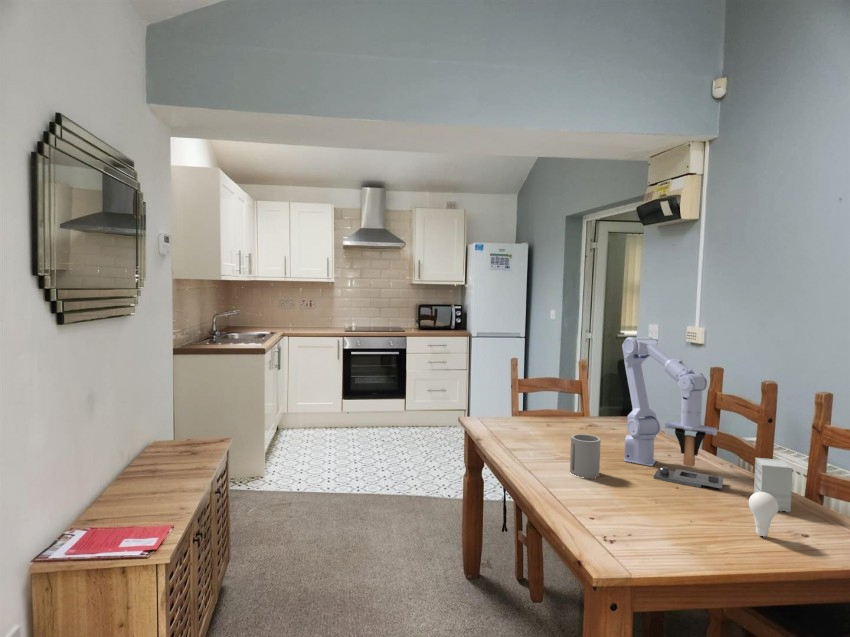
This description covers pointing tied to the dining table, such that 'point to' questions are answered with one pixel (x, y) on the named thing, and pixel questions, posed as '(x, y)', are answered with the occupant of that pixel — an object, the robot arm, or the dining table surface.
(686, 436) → the pin
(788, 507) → the supplement box
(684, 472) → the grey flat plate
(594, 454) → the cup
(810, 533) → the dining table surface
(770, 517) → the lightbulb
